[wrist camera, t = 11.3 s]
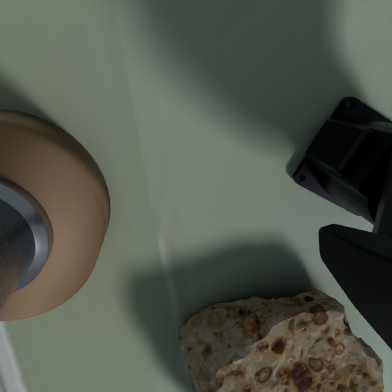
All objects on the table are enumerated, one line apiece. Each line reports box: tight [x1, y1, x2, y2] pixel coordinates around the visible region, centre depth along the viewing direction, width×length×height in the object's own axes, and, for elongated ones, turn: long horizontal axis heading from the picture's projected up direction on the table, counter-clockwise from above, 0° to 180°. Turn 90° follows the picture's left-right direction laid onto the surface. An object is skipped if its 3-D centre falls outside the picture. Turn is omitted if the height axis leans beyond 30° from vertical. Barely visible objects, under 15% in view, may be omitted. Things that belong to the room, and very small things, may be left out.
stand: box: [0, 110, 110, 321], centre depth 18 cm, size 12×12×4 cm
